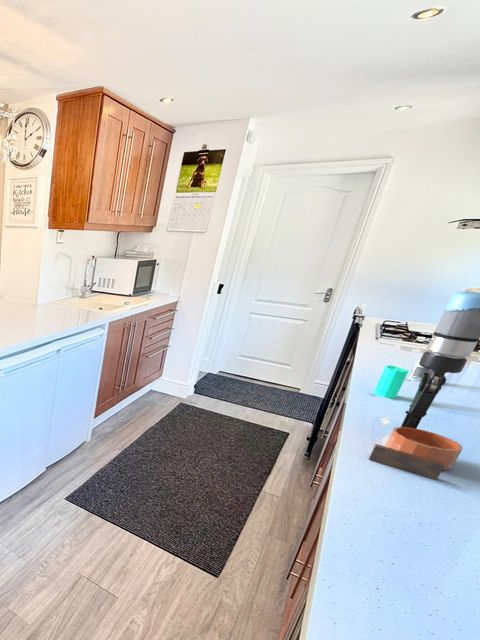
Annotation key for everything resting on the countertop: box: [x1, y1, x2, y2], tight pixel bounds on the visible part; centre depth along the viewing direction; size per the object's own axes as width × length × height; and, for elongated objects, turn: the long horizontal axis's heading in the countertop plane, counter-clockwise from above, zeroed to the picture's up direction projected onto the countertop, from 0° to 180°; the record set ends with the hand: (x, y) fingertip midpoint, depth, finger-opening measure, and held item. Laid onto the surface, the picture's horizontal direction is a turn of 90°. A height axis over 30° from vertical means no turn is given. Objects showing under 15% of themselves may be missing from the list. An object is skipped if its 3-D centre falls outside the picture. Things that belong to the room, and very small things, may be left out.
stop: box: [368, 443, 444, 481], centre depth 99 cm, size 12×2×4 cm, turn 45°
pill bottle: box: [408, 358, 430, 382], centre depth 163 cm, size 5×5×8 cm
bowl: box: [384, 426, 463, 470], centre depth 104 cm, size 12×12×6 cm
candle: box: [373, 364, 409, 399], centre depth 145 cm, size 6×6×12 cm
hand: (404, 435), depth 110 cm, fingers closed
